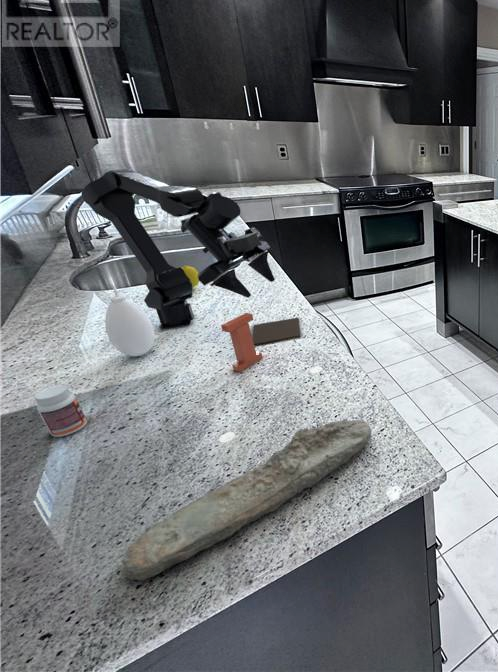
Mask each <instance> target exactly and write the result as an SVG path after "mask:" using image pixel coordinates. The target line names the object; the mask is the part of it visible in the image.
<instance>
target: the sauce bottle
mask: <svg viewBox="0 0 498 672" xmlns="http://www.w3.org/2000/svg"><path fill="white" fill-rule="evenodd" d="M112 288H113V292H114V295H113V296H111V297H110V299H109V300H110V303H109V304H108V306H107V309H106V311H105V317H104V325H105V326H104V327H105V332H106V335H107V337H108V340H109V342H110V344H111V345H112V346H113V347H114V349H116V350H117V351H119V352H120V353H121V354H123V355H125V356H130V357H141V356H144V355H145V354H147V353H148V352H149V351H150V349H152V348H153V346H154V343H155V337H156V336H155V335H156V334H155V333H156V332H155V329H154V325H153V323H152V322H151V320H150V318H149V316H148V315H147V313H146V311H144V310H143V309H142V308H141V307H140V306H139V305H138V304H137V303H135V302H134V301H133V300H131V299H129V298H127V295H125V294H119V293H118V290H117V289H116V286H114V285H113V286H112Z"/></svg>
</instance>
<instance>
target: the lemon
mask: <svg viewBox="0 0 498 672" xmlns="http://www.w3.org/2000/svg"><path fill="white" fill-rule="evenodd" d="M181 268H182V269H183V270H184V272H185V274H186V275H187V277H188V278H189V279H190V281H191V283H192V290H193V289H194V288H195V287H197V286H198V284H199V283H200V281H199V280H198V274H199V272H198V270H196V268H195V267H193V266H189V265H183V266H181Z"/></svg>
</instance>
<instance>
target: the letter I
mask: <svg viewBox="0 0 498 672" xmlns="http://www.w3.org/2000/svg"><path fill="white" fill-rule="evenodd" d="M252 321H254V316H253V313H249V312H245V313H242V314H241V315H238V316H237V317H234V318H232V319H231V320H229V321H226V322H225V323H222V324H221V325H220V328H221V331H222V332H225V333H229V336H230V340H231V343H232V347H233V351H234V354H235V357H236V358H235V359H236V361H237V362H235V363H233V364H232V369H233V371H234V372H237V373H240V372H243V371H244V370H245V369H247V368H248V367H250V366H252V365H253V364H255V363H257V362H258V361H260V360H261V359H263V358H264V357H263V353H262V352H261V351H256V347H255V346H254V343H253V334H252V331H251V327H250V322H252Z"/></svg>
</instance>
